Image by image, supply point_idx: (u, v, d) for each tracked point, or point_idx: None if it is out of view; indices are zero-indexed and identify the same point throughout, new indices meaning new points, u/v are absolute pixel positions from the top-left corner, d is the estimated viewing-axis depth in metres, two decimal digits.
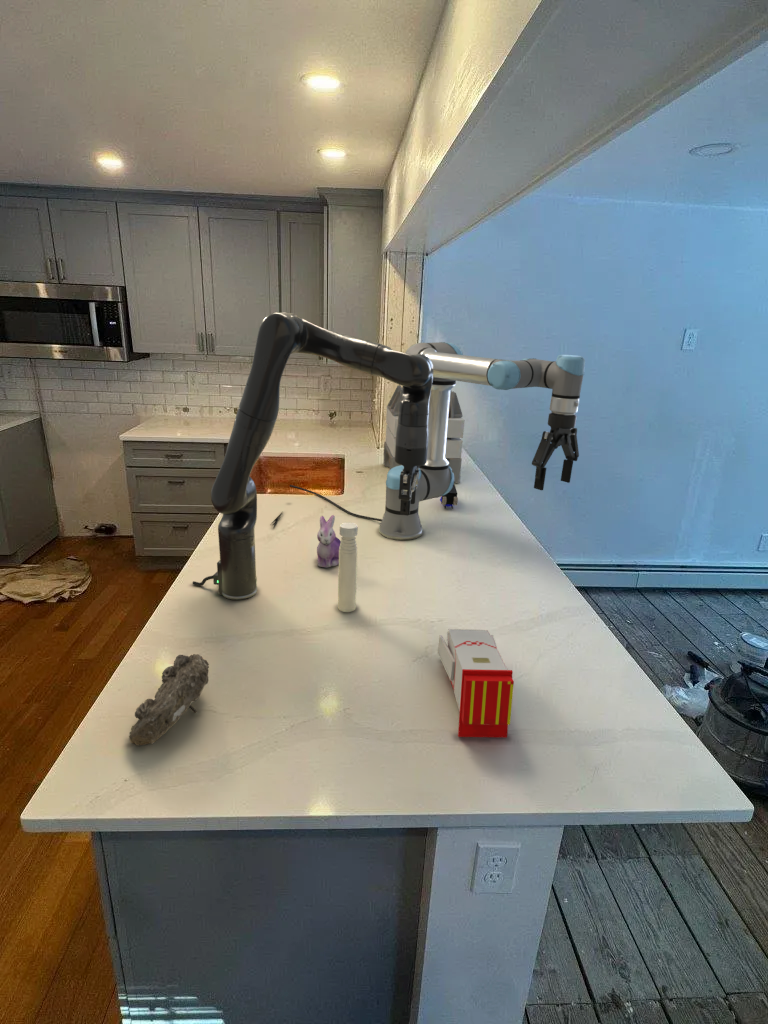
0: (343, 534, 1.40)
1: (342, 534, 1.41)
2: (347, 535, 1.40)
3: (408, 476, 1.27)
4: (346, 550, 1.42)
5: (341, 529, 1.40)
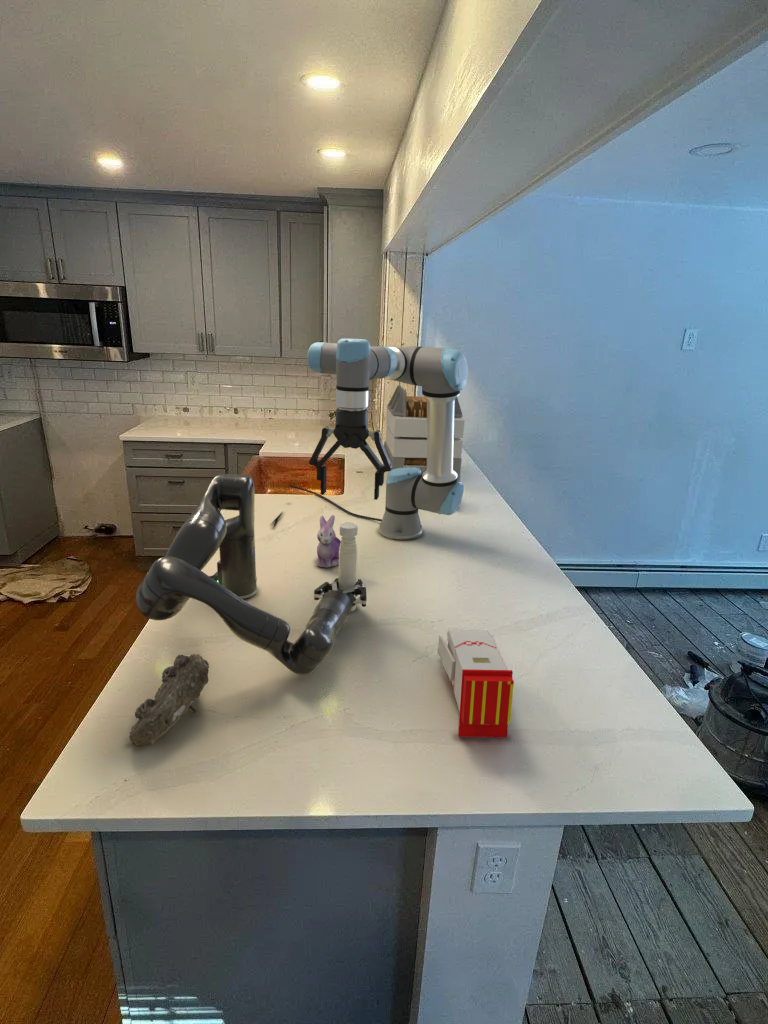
0: (343, 534, 1.40)
1: (342, 534, 1.41)
2: (347, 535, 1.40)
3: (366, 599, 1.39)
4: (346, 550, 1.42)
5: (341, 529, 1.40)
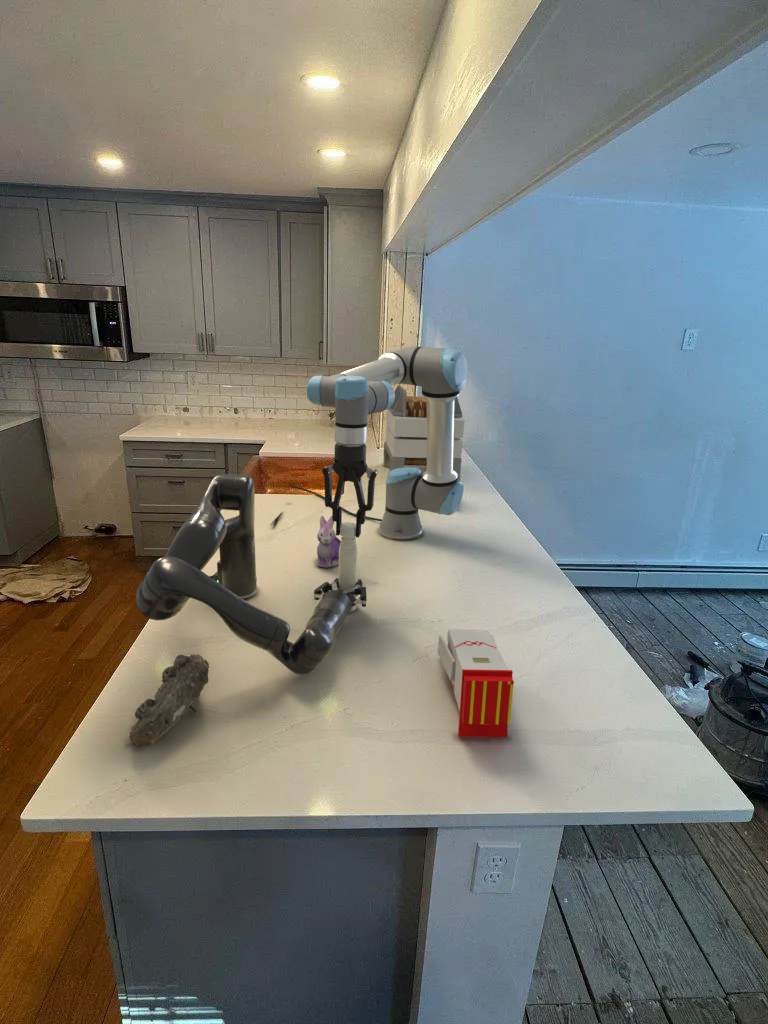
0: (343, 534, 1.40)
1: (342, 534, 1.41)
2: (347, 535, 1.40)
3: (366, 599, 1.39)
4: (346, 550, 1.42)
5: (341, 529, 1.40)
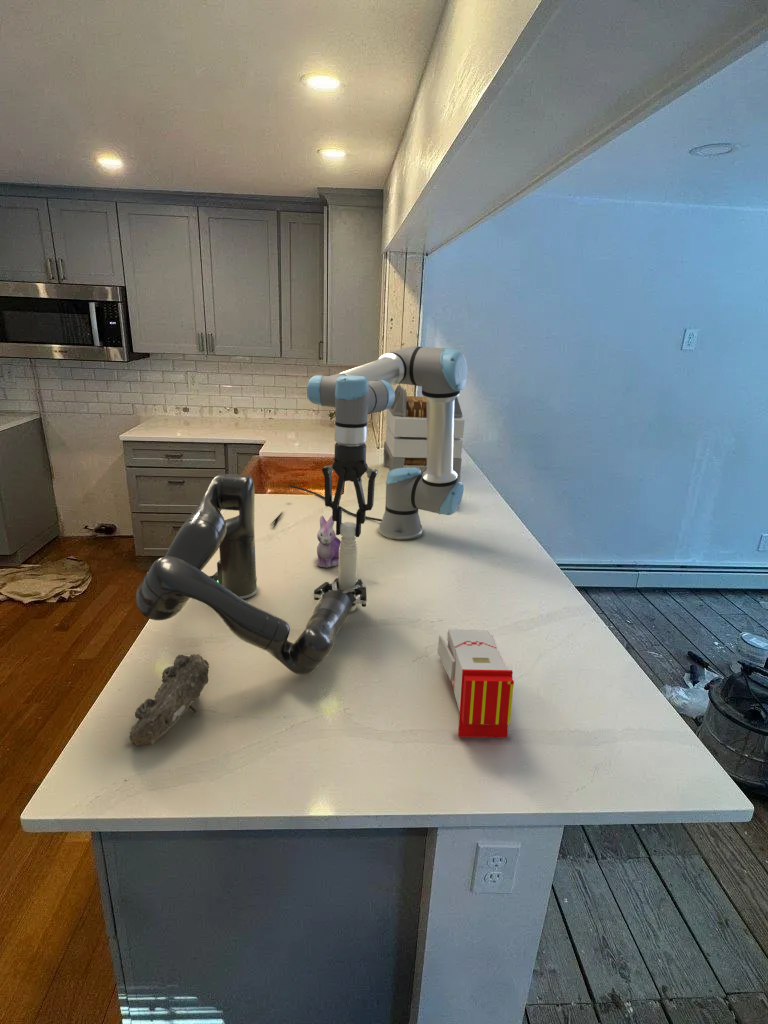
0: (355, 533, 1.41)
1: (354, 534, 1.41)
2: None
3: (366, 599, 1.39)
4: (346, 550, 1.42)
5: (353, 530, 1.40)
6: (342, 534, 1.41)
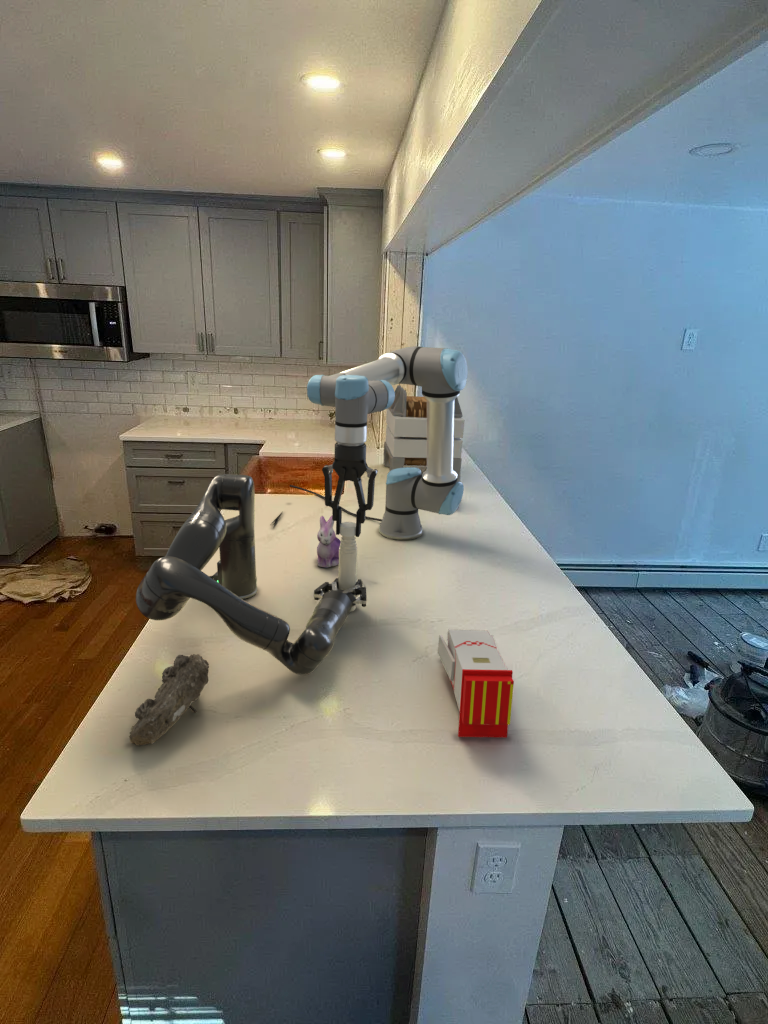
0: None
1: None
2: None
3: (366, 599, 1.39)
4: (346, 550, 1.42)
5: None
6: (354, 534, 1.41)
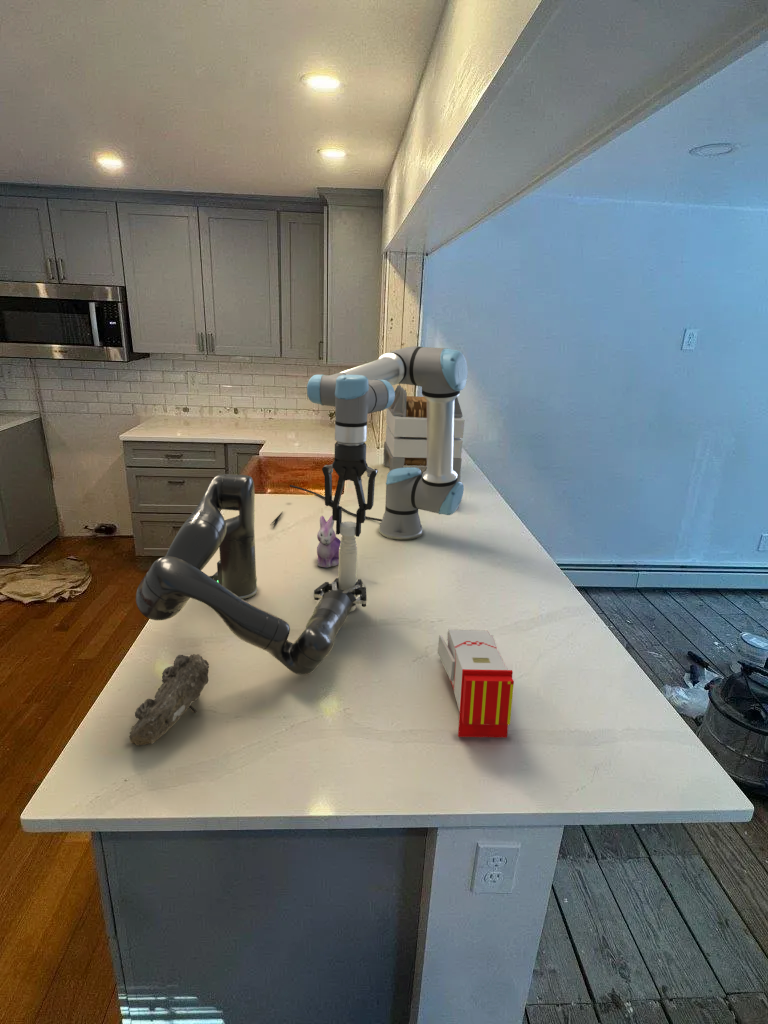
0: None
1: None
2: None
3: (366, 599, 1.39)
4: (346, 550, 1.42)
5: None
6: None
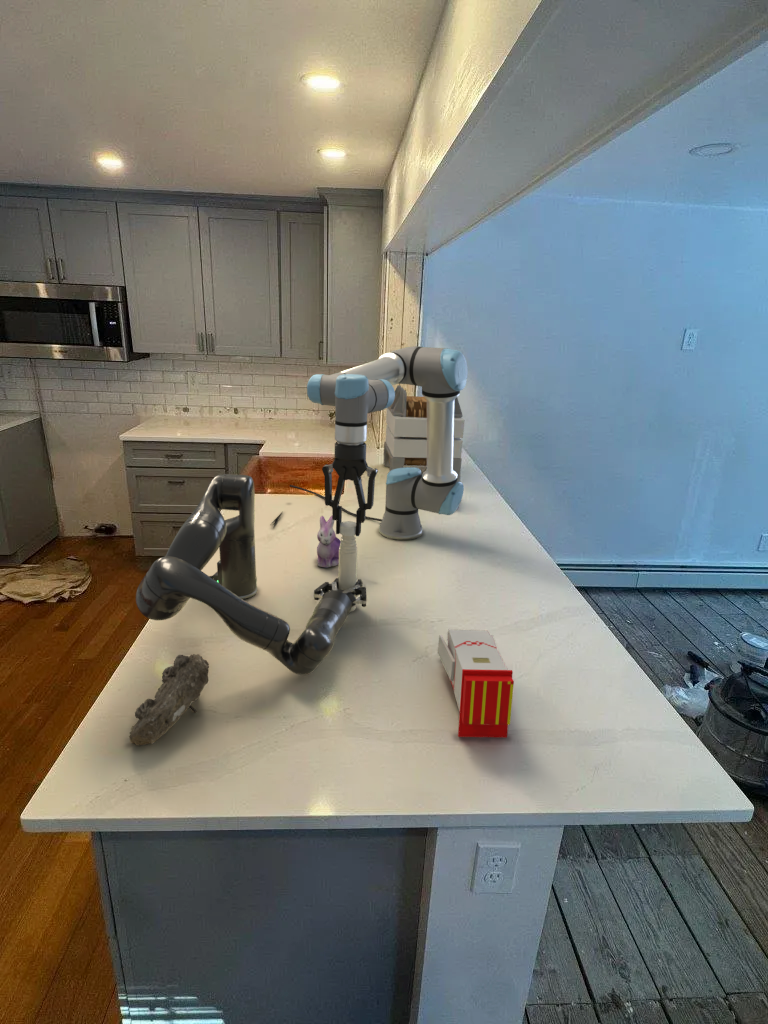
0: (341, 532, 1.41)
1: (341, 532, 1.41)
2: (345, 533, 1.40)
3: (366, 599, 1.39)
4: (346, 550, 1.42)
5: (340, 527, 1.41)
6: None
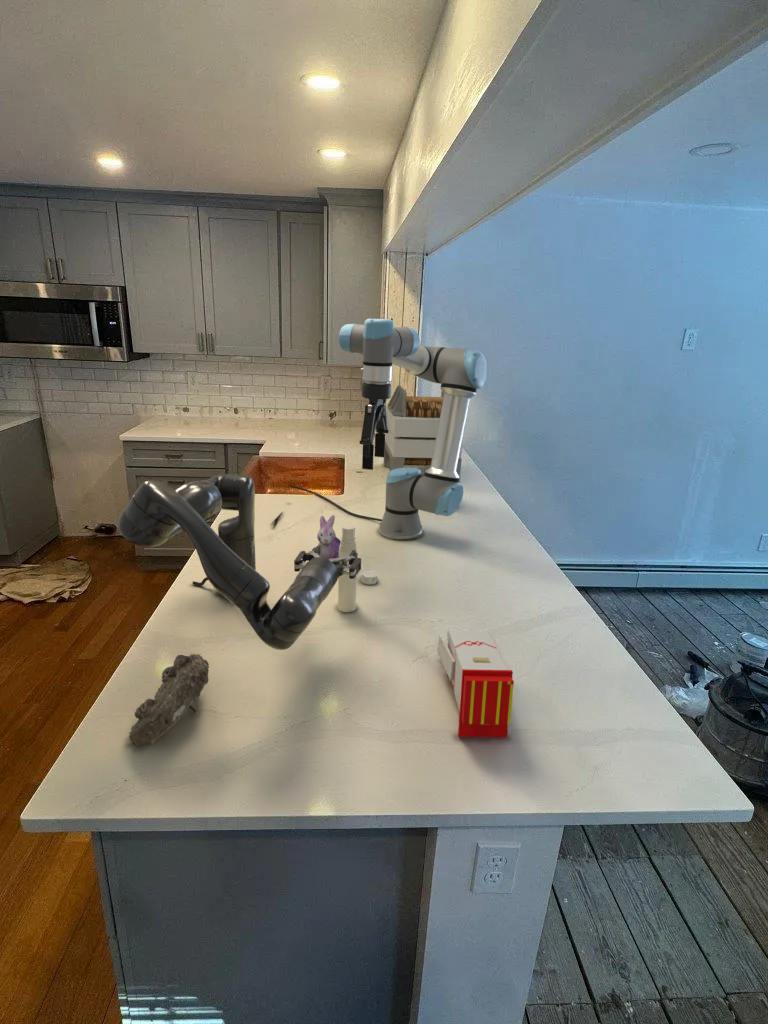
0: (373, 582, 1.63)
1: (373, 582, 1.63)
2: (376, 581, 1.64)
3: (353, 570, 1.22)
4: (346, 550, 1.41)
5: (371, 579, 1.62)
6: (362, 581, 1.63)
